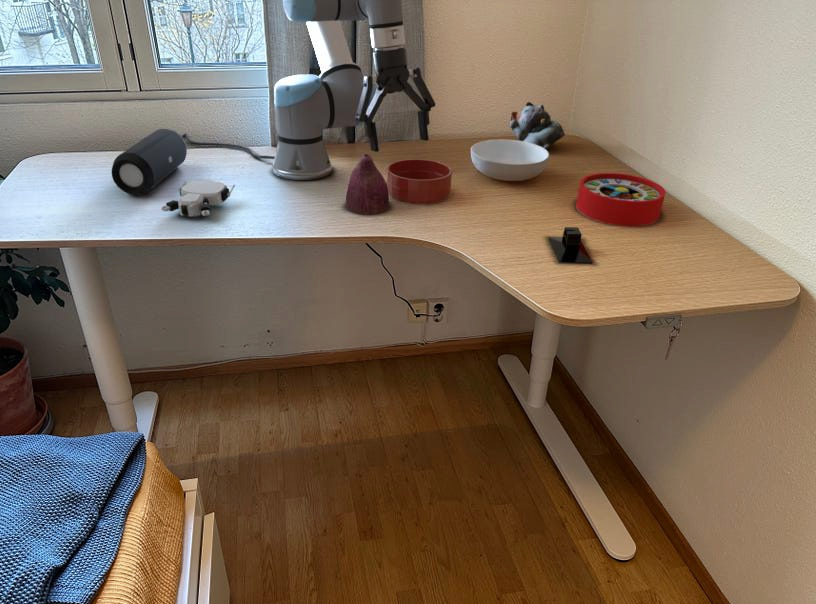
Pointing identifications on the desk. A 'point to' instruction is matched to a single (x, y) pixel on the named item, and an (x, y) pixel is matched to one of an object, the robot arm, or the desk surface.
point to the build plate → (570, 247)
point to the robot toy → (199, 197)
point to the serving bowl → (509, 159)
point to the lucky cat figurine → (535, 126)
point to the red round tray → (418, 181)
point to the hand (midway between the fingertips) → (400, 145)
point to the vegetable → (367, 189)
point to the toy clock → (620, 199)
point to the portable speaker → (149, 161)
